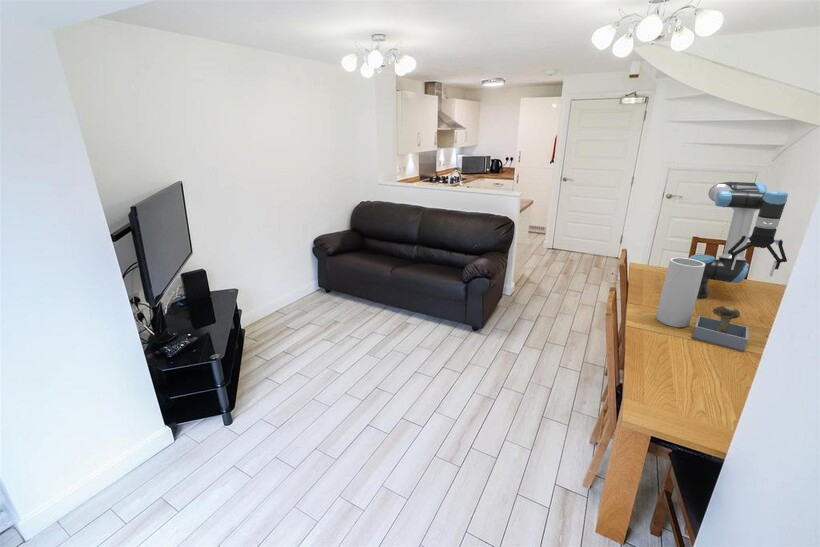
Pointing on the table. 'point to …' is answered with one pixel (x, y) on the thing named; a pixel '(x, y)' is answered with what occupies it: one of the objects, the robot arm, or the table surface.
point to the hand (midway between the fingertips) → (751, 272)
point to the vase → (680, 291)
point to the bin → (732, 339)
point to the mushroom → (725, 317)
